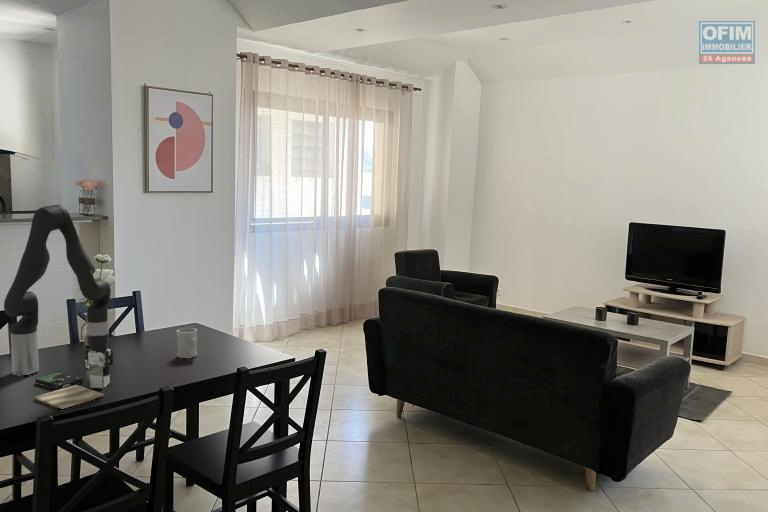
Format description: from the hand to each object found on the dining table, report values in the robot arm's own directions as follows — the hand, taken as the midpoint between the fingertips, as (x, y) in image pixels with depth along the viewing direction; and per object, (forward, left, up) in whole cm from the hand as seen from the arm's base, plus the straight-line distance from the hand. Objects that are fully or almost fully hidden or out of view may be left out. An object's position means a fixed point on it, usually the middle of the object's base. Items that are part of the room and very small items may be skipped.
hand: (99, 373), depth 238 cm
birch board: (+3, -14, -5) cm, 15 cm away
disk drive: (-15, -7, -6) cm, 18 cm away
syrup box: (0, 0, -5) cm, 5 cm away
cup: (-4, +47, -5) cm, 47 cm away
